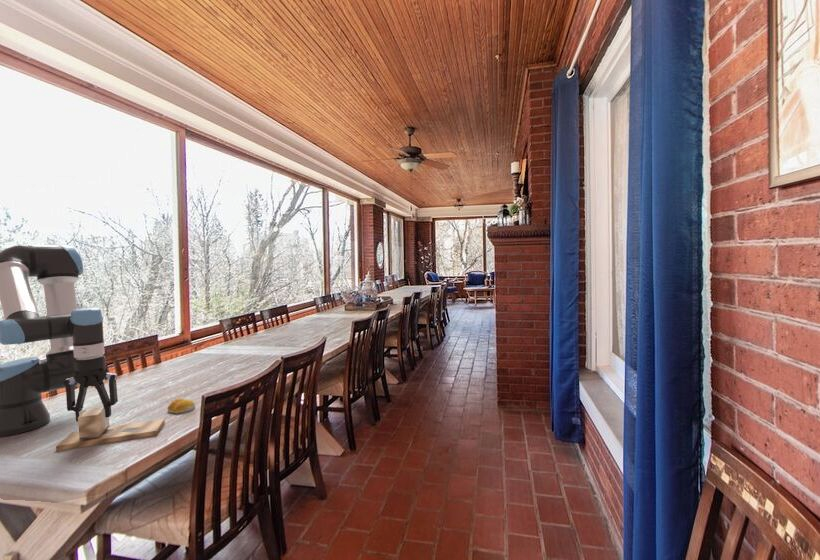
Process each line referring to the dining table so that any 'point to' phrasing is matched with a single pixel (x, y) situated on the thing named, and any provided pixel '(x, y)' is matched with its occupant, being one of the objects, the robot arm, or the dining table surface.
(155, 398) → the dining table surface
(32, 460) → the dining table surface
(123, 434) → the oak plank
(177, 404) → the bread roll
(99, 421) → the block
